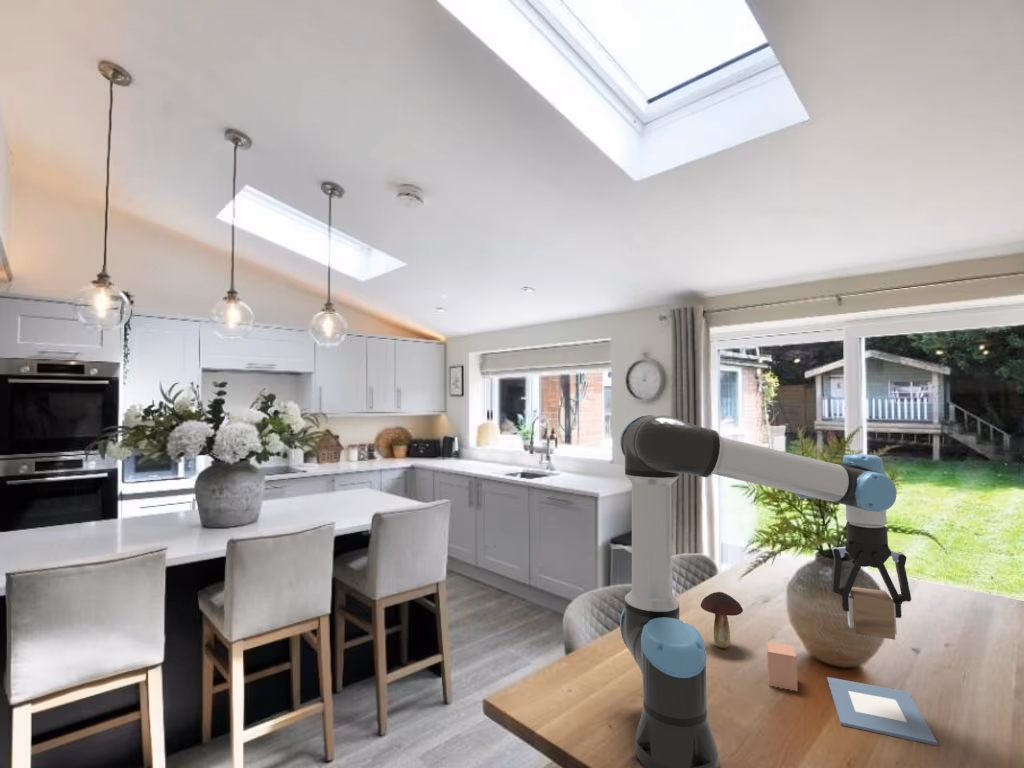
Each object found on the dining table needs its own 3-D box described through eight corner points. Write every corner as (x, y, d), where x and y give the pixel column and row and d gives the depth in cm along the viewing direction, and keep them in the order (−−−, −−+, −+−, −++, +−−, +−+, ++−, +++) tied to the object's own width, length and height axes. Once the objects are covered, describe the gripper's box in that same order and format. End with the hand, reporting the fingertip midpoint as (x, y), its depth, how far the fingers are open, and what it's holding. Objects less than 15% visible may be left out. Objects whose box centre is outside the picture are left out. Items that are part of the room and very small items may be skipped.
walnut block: (895, 639, 108) (893, 601, 108) (856, 633, 110) (854, 596, 111) (887, 627, 114) (885, 590, 114) (850, 621, 117) (848, 586, 117)
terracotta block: (797, 691, 118) (796, 656, 119) (769, 686, 121) (767, 651, 121) (795, 679, 124) (794, 645, 124) (768, 674, 126) (766, 641, 127)
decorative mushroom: (709, 635, 149) (707, 583, 150) (748, 646, 142) (746, 591, 143) (695, 649, 140) (694, 593, 141) (737, 660, 133) (735, 602, 134)
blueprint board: (937, 745, 99) (937, 741, 99) (840, 725, 106) (840, 721, 106) (908, 694, 117) (907, 691, 117) (827, 679, 124) (827, 676, 124)
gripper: (916, 524, 113) (922, 629, 111) (813, 517, 121) (817, 615, 120) (927, 531, 106) (933, 644, 105) (816, 523, 114) (821, 627, 113)
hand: (871, 628), depth 112 cm, fingers closed on walnut block, 7 cm apart
